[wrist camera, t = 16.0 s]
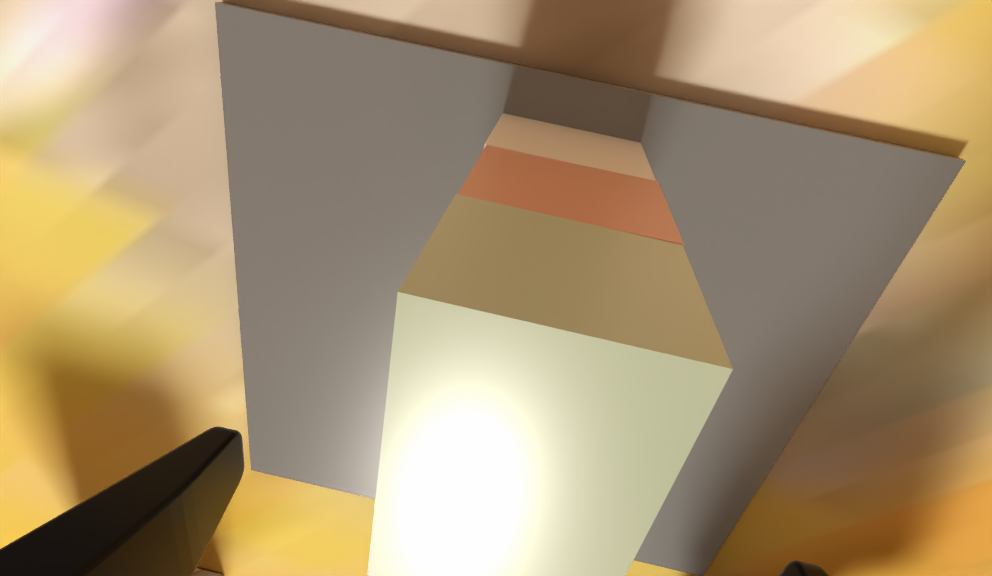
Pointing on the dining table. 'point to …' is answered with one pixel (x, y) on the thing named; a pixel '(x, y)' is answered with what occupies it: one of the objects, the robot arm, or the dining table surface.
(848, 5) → the dining table surface
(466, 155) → the baseplate
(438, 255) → the sage brick
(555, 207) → the terracotta brick
